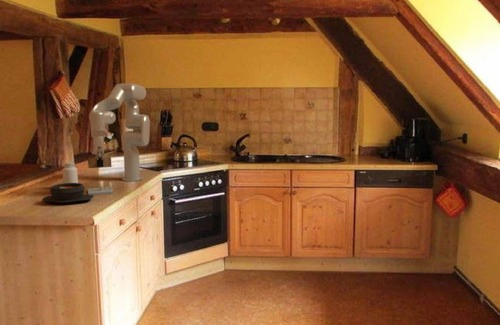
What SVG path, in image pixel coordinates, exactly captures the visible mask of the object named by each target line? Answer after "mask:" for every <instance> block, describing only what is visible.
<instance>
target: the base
mask: <svg viewBox="0 0 500 325" xmlns="http://www.w3.org/2000/svg"><path fill="white" fill-rule="evenodd" d="M113 194H114V189H113V187H112V181H110V182H108V186H107V187H104V181H103V180H99V181H98V187H95V188H94V187H93V188H87V195H93V196H97V195H98V196H99V195H101V196H102V195H113Z"/></svg>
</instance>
